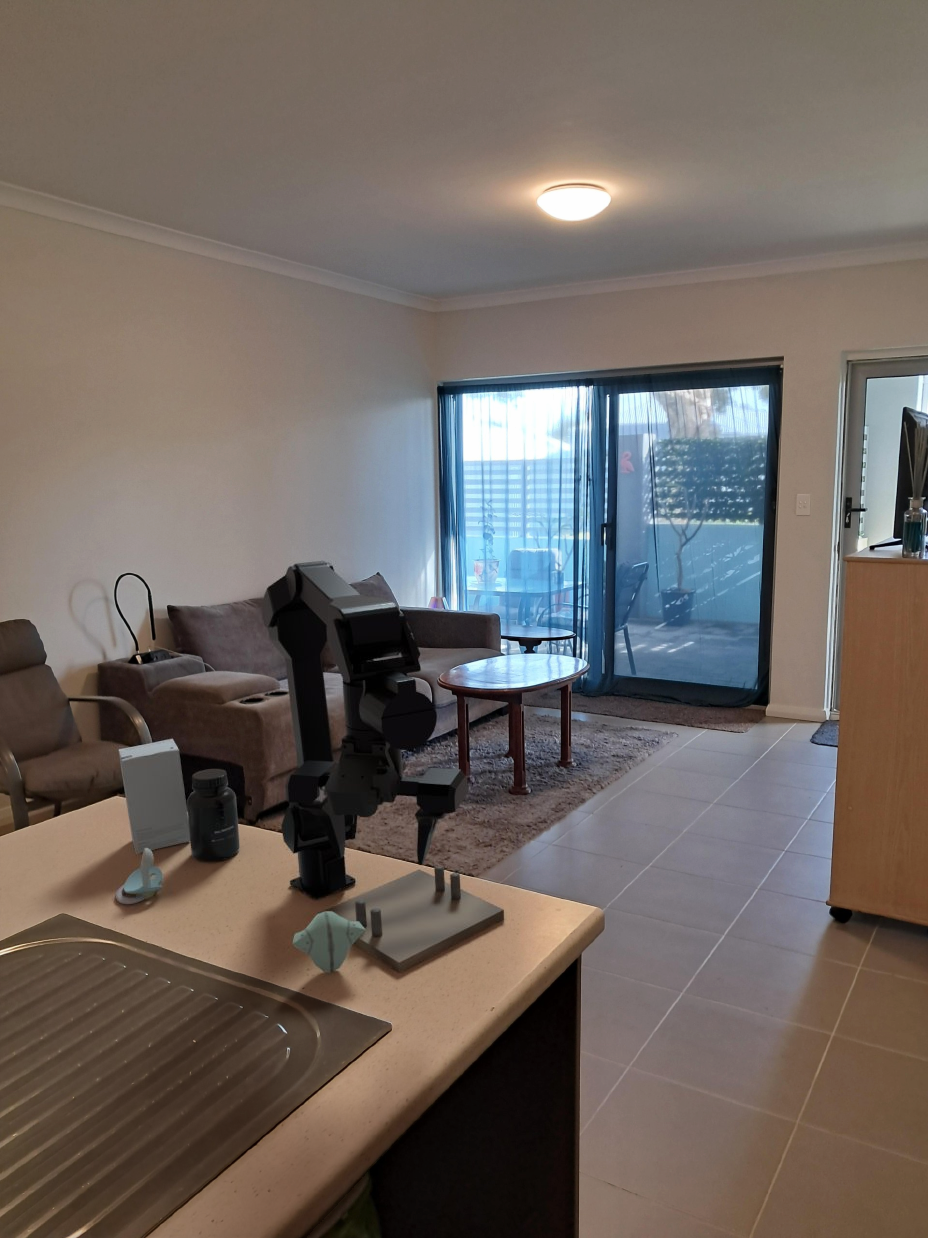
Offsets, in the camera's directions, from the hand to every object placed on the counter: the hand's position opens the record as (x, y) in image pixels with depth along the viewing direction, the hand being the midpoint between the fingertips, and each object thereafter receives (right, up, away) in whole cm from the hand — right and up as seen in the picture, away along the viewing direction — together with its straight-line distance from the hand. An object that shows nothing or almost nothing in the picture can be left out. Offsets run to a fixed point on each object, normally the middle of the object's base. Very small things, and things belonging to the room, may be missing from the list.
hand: (380, 860), depth 101 cm
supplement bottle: (-27, -8, +34) cm, 44 cm away
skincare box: (-36, -8, +39) cm, 54 cm away
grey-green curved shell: (-6, -13, +2) cm, 14 cm away
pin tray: (+3, -10, +12) cm, 16 cm away
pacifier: (-34, -11, +23) cm, 42 cm away
